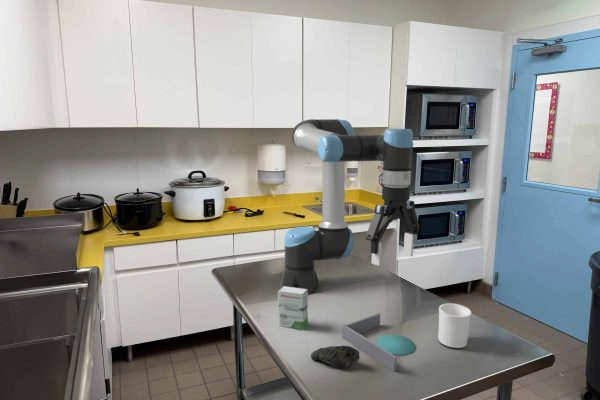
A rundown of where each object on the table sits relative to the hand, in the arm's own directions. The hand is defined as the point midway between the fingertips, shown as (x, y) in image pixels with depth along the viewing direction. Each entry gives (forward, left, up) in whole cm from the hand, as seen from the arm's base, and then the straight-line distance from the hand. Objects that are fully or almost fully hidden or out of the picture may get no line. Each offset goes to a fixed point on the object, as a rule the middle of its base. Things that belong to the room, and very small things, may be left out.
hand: (392, 259), depth 118 cm
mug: (+10, +17, -26) cm, 32 cm away
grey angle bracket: (+1, -2, -26) cm, 26 cm away
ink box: (-25, -17, -26) cm, 40 cm away
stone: (-1, -20, -26) cm, 33 cm away
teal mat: (+2, +1, -26) cm, 26 cm away
